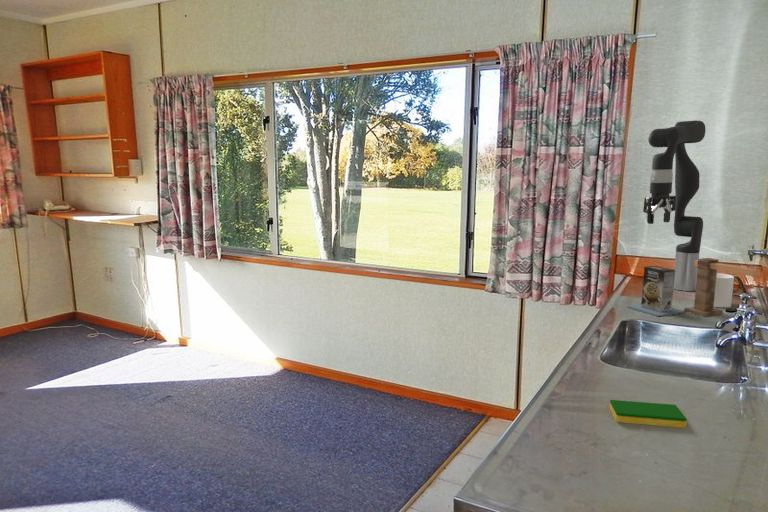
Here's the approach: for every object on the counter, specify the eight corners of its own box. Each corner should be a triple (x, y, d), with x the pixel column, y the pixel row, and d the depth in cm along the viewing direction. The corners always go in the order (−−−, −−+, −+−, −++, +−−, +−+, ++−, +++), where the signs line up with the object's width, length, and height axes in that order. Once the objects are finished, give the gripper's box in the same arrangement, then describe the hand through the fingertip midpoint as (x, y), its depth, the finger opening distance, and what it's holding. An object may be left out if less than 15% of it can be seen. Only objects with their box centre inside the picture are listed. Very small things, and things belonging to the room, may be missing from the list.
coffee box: (640, 306, 204) (643, 266, 201) (652, 305, 206) (655, 265, 203) (660, 312, 195) (663, 270, 193) (672, 310, 198) (676, 269, 195)
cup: (721, 301, 214) (724, 272, 212) (737, 308, 203) (740, 278, 201) (691, 300, 215) (694, 272, 213) (705, 307, 204) (708, 278, 202)
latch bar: (699, 265, 199) (700, 260, 199) (758, 275, 179) (758, 269, 178) (694, 265, 198) (694, 260, 198) (752, 276, 178) (753, 270, 177)
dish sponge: (609, 409, 119) (609, 399, 118) (674, 414, 116) (675, 404, 116) (616, 423, 112) (616, 413, 112) (686, 429, 109) (687, 419, 109)
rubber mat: (654, 304, 209) (654, 302, 209) (685, 312, 197) (685, 311, 196) (627, 307, 205) (627, 306, 204) (657, 316, 192) (657, 315, 192)
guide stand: (702, 308, 203) (707, 256, 199) (722, 313, 195) (727, 260, 192) (684, 311, 199) (689, 258, 196) (703, 316, 192) (708, 261, 188)
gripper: (656, 182, 194) (653, 225, 197) (683, 180, 199) (680, 222, 202) (639, 181, 201) (637, 223, 204) (666, 180, 206) (663, 220, 209)
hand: (658, 222), depth 203 cm, fingers open, 8 cm apart
